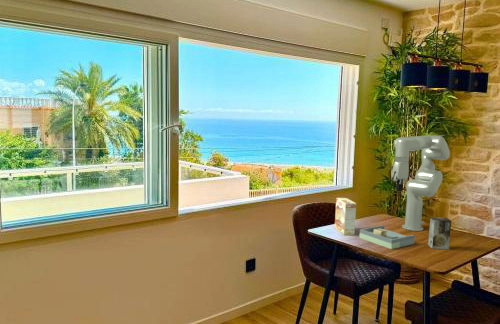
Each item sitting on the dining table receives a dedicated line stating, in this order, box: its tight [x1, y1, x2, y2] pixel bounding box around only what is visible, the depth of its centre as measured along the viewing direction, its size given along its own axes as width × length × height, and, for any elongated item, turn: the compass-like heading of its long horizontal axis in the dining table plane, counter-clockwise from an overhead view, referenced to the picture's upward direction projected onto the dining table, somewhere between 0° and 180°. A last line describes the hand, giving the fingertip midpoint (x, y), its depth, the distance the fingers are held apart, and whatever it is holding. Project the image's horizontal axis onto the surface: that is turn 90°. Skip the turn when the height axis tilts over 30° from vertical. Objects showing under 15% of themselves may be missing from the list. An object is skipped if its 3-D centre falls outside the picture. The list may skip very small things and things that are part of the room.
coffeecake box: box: [334, 197, 357, 236], centre depth 239 cm, size 15×7×20 cm, turn 9°
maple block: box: [373, 228, 388, 237], centre depth 221 cm, size 5×5×4 cm
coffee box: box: [427, 216, 452, 250], centre depth 216 cm, size 9×6×16 cm
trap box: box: [359, 224, 416, 250], centre depth 225 cm, size 20×22×5 cm
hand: (399, 190), depth 234 cm, fingers closed
